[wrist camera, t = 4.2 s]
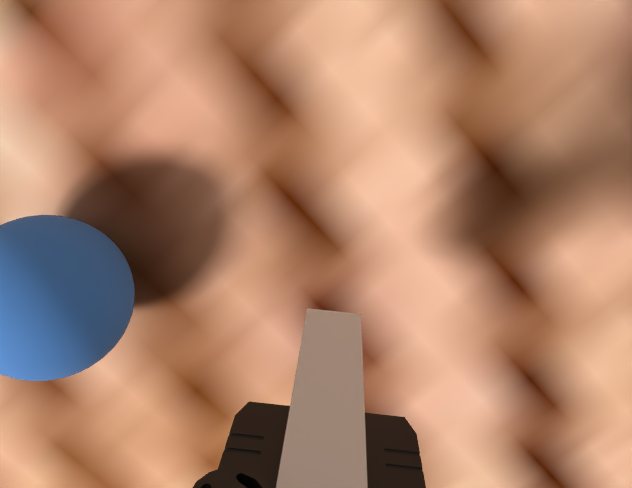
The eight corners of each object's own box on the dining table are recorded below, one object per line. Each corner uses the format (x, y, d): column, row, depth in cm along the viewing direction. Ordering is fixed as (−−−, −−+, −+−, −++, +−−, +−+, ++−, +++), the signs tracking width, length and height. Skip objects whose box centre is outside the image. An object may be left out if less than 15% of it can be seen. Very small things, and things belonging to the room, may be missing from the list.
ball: (156, 205, 19) (83, 256, 14) (158, 336, 21) (95, 426, 16) (10, 190, 19) (-116, 236, 14) (24, 322, 21) (-82, 406, 16)
